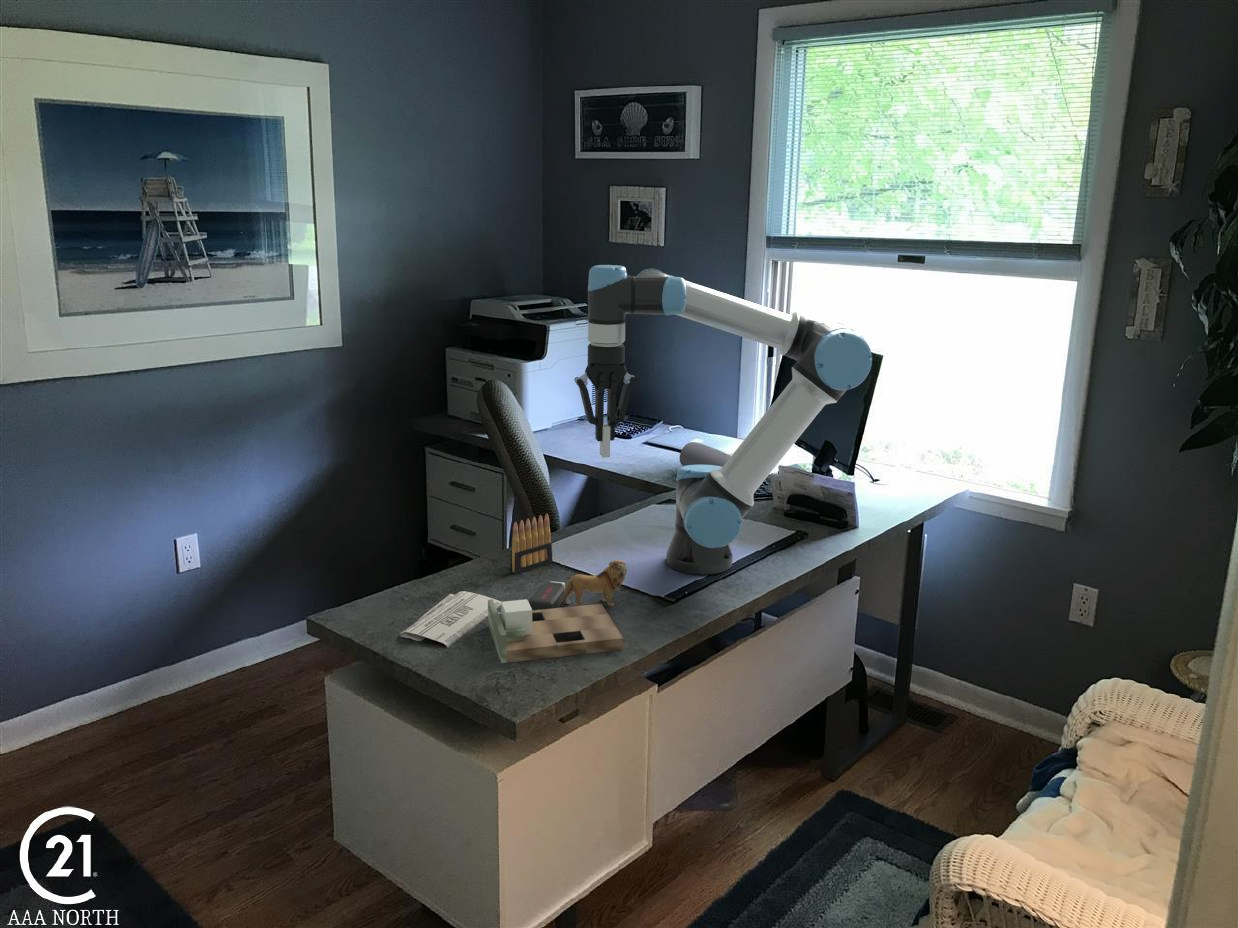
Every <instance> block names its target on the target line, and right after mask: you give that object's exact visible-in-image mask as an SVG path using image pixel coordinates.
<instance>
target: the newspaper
mask: <svg viewBox="0 0 1238 928" xmlns="http://www.w3.org/2000/svg"><path fill="white" fill-rule="evenodd" d="M492 599H493V601H494V604H495V606H496V609H497V610H498V609H500V608H501V602H502V601H500V600H498V599H496V598H492V597H489V596H486V595H483V594H479V593H474V592H472V591H471V592H470V591H465V590H463V591H459V592H456V593H455V594H453V593H449V594H448V595H447V596H446V597H445V598H443V599H442V600H441V601H440V602H438V603H437V604H436V605H434V606H433V607H432V608H430V609H429V610H428V611H426V613H424V614H423V615H422V616H421V617H420V618H419V619H418V620H417V621H416V622H414V623H413V624H411V625H409V627H406V629H404V630H403V631H402V632H400V635H399V636H400V637H401V638H403V639H404V638H405V639H411V640H412V641H413V640H414V641H416V642H417V641H419V642H420V641H422V642H423V640H424V639H426V638H427V639H429V640H432V641H436V642H439V643H441V644H444V645H445V646H446V648H450V647H451V645H453V644H454V643H456V642H457V641H459V640H460V638H462V637H463V636H465V635H466V634H468V632H470V631H471V630H472V629H474V628H475V627H476V626H478V625H479V624H480V623H481V622H483V621H484V620H486V618H488V600H492Z"/></svg>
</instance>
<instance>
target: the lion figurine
mask: <svg viewBox="0 0 1238 928" xmlns="http://www.w3.org/2000/svg"><path fill="white" fill-rule="evenodd" d="M626 575H627V567H626V562H625V561H623V560H619V559H614V560H611V561H609V563H608V566H607V567H606V568H604V570H603V571H602V572H601V571H600V573H599V574H597V575H586V574H580V573H578V574H574V575H573V576H571V578H569V580H568V581H567V583H566V584H565V593H564V598H563V600H562V601H561V602H560V604H559V605H558V607H563V606H564V604H565V605H566V604H567V605H569V604H571V603H572V601H571V600H570V599H569V597H570V596H572V595H574V594H575V600H574V601H575V603H576V605H577V606H583V605H584V604H582V601H581V600H582V599H581V598H582V596H583V595H584V590H585V591H587V592H589V593H593V594H595V593H596V594H597V593H601V599H600V600H601V601H602V602H606V603H607V605H608V607H613V606H614V605H615V603H614V602H612V598H613V592H614V591H616V590H619V589H620V588H621V586H622V584H623V583H624V581H625V580H626Z"/></svg>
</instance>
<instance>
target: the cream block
mask: <svg viewBox="0 0 1238 928" xmlns="http://www.w3.org/2000/svg"><path fill="white" fill-rule="evenodd" d="M500 608H501V610H500V612H501V615H502V625H503V627H504V630H508V629H518V628H524V630H525V635H531V634H532V609H531V606H530V604H529V600H528V599H517V600H507V601H506V600H505V601H501V606H500Z"/></svg>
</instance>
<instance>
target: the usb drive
mask: <svg viewBox="0 0 1238 928" xmlns="http://www.w3.org/2000/svg"><path fill="white" fill-rule="evenodd" d="M565 589H566V583H565V582H562V581H561V582H559V581H553V580H552V581H551V580H550V581H547V582H545V583H544V584H542V585H541V586H540V587H539V588H538V589H537V591H536V592H535V593H534V595H533V596H532V597H531V598H530V599H529V600H528V602H529V604H530V606H531V609H532V611H533V610H543V609H553V608H559V605H560V604H561V602H562V601H563V598H564V593H565Z"/></svg>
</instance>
